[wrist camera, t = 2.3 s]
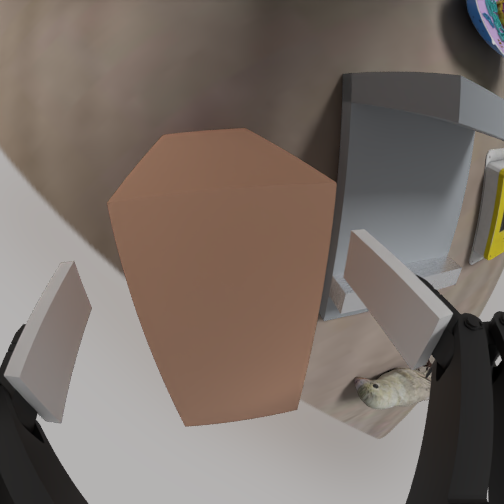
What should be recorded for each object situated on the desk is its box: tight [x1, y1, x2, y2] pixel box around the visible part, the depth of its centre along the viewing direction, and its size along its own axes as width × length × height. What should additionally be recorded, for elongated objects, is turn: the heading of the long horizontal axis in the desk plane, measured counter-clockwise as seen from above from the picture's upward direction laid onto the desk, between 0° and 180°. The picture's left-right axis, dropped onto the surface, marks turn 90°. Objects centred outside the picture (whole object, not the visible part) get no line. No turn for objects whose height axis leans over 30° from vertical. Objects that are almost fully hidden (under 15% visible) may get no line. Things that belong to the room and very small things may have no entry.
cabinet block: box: [107, 128, 337, 426], centre depth 14 cm, size 11×5×12 cm, turn 1°
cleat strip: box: [329, 255, 462, 314], centre depth 22 cm, size 2×14×2 cm, turn 91°
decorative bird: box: [355, 359, 432, 409], centre depth 33 cm, size 5×16×8 cm, turn 75°
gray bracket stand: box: [319, 72, 504, 321], centre depth 17 cm, size 20×14×10 cm
